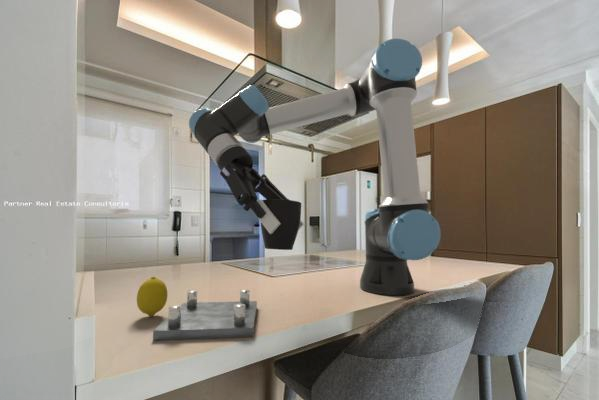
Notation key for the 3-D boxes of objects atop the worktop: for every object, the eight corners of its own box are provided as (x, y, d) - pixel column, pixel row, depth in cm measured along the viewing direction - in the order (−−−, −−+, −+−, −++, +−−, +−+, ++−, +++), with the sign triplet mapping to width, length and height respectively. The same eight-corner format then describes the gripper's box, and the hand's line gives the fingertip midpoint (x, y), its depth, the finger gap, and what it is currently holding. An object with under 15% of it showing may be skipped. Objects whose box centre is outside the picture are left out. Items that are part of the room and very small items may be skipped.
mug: (282, 247, 65) (285, 206, 66) (306, 250, 54) (308, 202, 55) (248, 246, 61) (251, 203, 63) (265, 249, 50) (269, 197, 52)
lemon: (161, 310, 61) (162, 273, 61) (170, 316, 57) (172, 276, 57) (132, 316, 57) (134, 276, 57) (140, 323, 53) (142, 280, 53)
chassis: (256, 307, 63) (257, 287, 63) (252, 336, 47) (253, 309, 47) (183, 309, 61) (183, 288, 61) (152, 340, 45) (154, 311, 46)
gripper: (250, 176, 75) (301, 239, 66) (184, 160, 57) (242, 244, 48) (267, 155, 73) (322, 217, 64) (204, 131, 55) (268, 213, 46)
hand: (288, 228), depth 56 cm, fingers closed on mug, 9 cm apart
